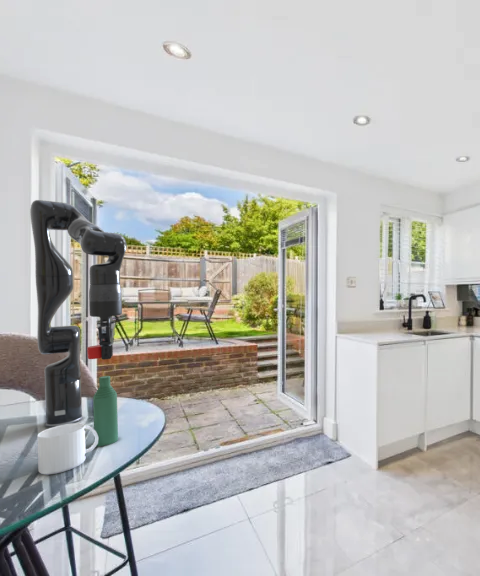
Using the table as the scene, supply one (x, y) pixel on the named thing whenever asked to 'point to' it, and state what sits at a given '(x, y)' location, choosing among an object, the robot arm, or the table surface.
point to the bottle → (105, 412)
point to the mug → (63, 447)
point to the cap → (94, 352)
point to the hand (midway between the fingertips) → (107, 357)
